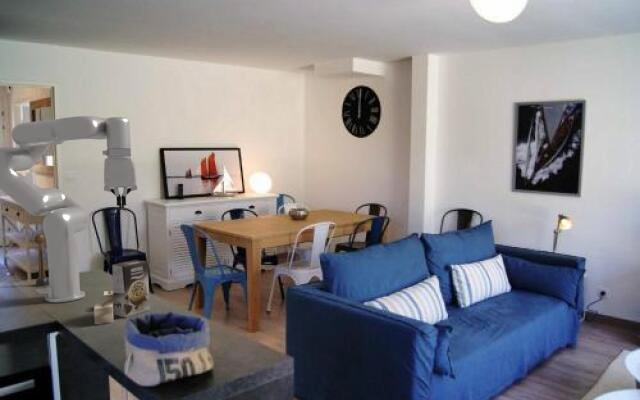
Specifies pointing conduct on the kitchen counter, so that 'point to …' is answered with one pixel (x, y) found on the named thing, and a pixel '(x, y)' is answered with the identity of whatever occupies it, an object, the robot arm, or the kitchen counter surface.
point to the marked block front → (103, 313)
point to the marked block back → (108, 297)
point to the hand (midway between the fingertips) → (121, 207)
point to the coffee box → (130, 288)
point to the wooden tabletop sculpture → (40, 261)
